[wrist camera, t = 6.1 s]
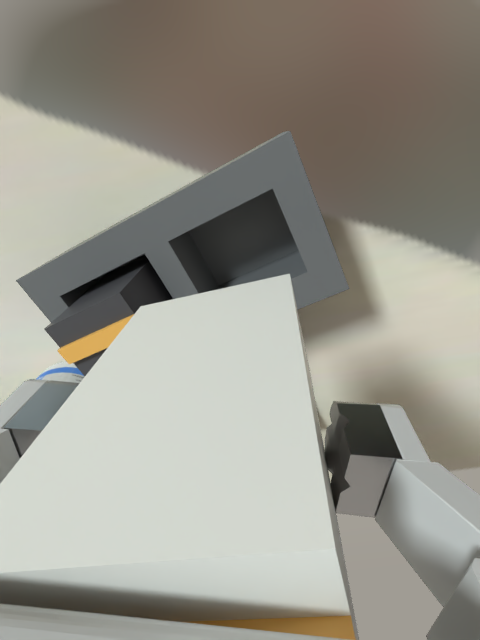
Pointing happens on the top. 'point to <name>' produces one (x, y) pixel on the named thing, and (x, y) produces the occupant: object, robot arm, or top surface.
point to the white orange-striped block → (185, 478)
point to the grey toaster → (191, 251)
